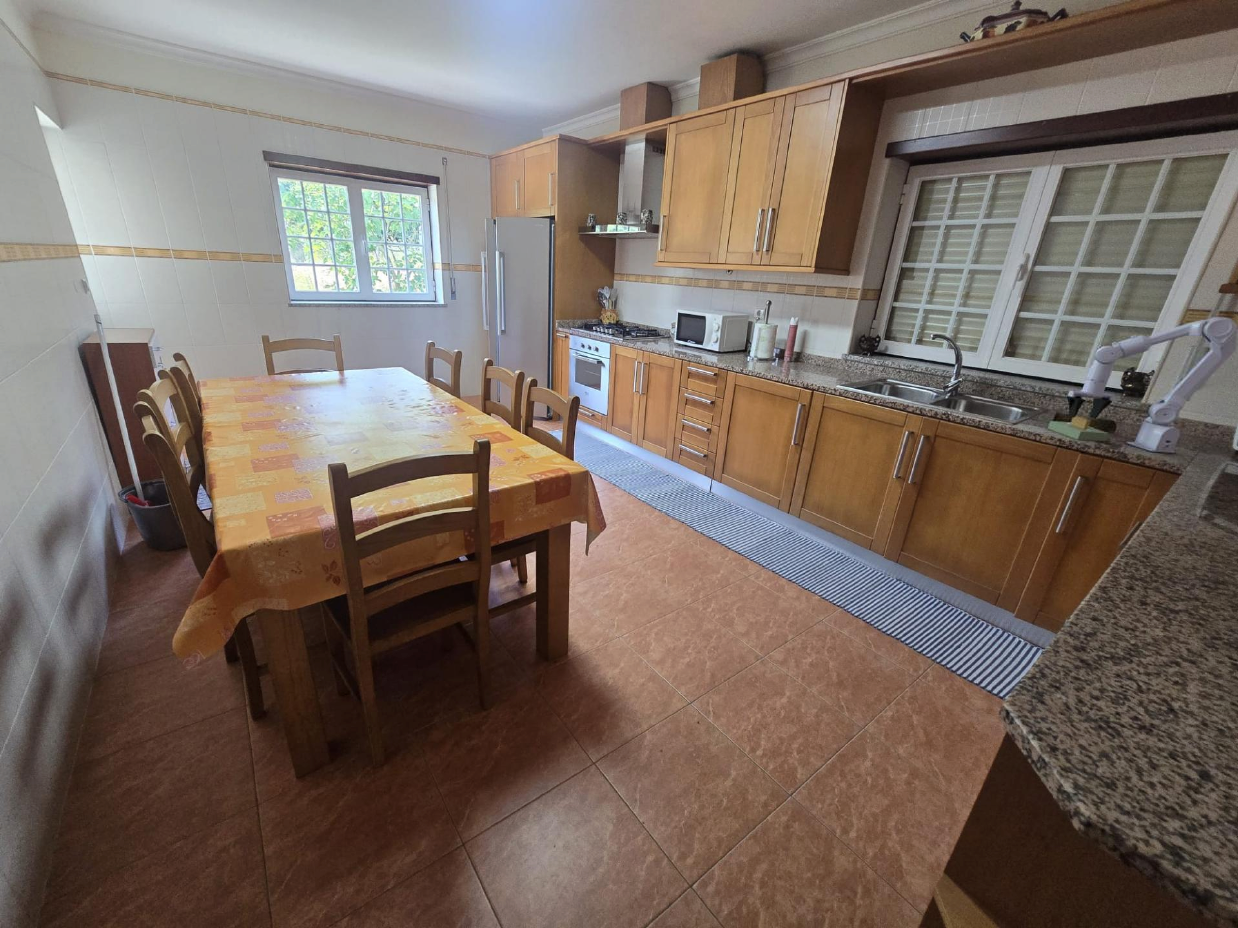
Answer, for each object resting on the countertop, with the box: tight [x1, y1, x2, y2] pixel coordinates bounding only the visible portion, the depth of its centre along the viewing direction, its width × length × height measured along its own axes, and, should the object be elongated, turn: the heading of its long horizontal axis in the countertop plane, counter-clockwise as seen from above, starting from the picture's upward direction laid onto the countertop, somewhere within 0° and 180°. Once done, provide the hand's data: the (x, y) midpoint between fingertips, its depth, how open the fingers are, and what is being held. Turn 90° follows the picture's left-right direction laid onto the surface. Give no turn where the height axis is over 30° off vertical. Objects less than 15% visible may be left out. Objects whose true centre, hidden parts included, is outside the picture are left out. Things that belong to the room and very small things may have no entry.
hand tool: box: [1052, 411, 1118, 433], centre depth 198 cm, size 19×4×5 cm, turn 37°
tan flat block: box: [1070, 414, 1091, 429], centre depth 184 cm, size 6×1×4 cm, turn 178°
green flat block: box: [1047, 420, 1110, 442], centre depth 185 cm, size 14×10×3 cm
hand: (1082, 417), depth 183 cm, fingers open, 7 cm apart
